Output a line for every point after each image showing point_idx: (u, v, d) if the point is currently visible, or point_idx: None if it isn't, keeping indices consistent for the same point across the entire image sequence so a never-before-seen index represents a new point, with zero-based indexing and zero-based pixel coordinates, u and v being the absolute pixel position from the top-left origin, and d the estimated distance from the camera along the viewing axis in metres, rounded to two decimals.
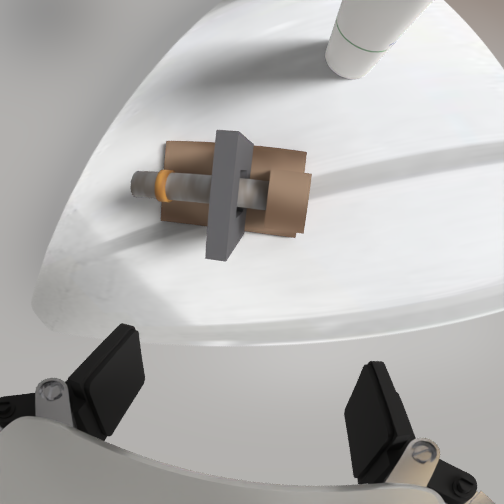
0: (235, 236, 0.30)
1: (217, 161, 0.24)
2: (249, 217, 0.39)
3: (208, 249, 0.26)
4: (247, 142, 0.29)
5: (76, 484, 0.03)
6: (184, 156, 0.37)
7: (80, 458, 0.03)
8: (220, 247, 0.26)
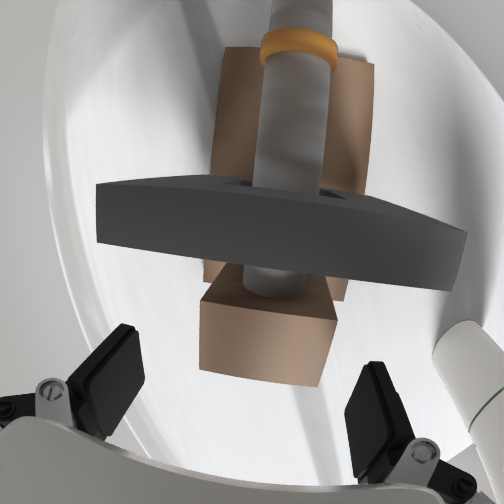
0: None
1: (389, 229, 0.07)
2: None
3: (117, 192, 0.08)
4: None
5: (76, 484, 0.03)
6: (345, 91, 0.18)
7: (80, 458, 0.03)
8: (126, 227, 0.08)
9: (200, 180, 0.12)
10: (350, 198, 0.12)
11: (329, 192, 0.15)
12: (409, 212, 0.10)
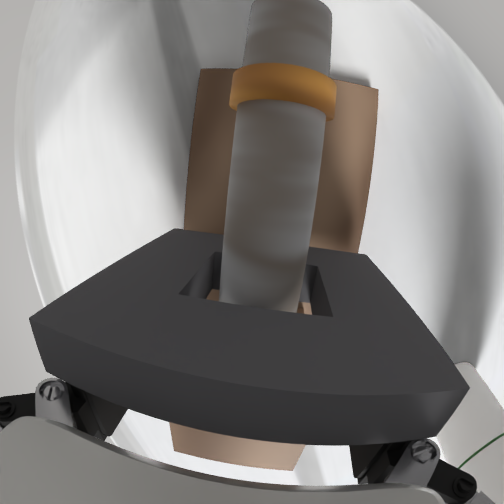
0: None
1: (373, 406, 0.05)
2: None
3: (50, 335, 0.06)
4: None
5: (76, 484, 0.03)
6: (343, 123, 0.16)
7: (80, 458, 0.03)
8: (68, 370, 0.06)
9: (156, 278, 0.10)
10: (338, 301, 0.10)
11: (316, 267, 0.13)
12: (408, 332, 0.08)
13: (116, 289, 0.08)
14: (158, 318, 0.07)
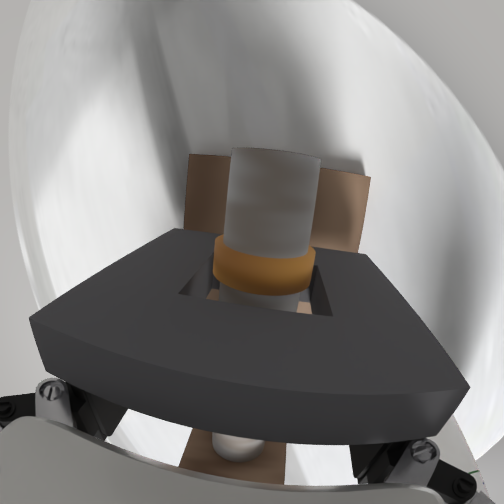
0: None
1: (373, 405, 0.05)
2: None
3: (50, 334, 0.06)
4: None
5: (76, 484, 0.03)
6: (331, 217, 0.18)
7: (80, 458, 0.03)
8: (68, 369, 0.06)
9: (155, 277, 0.10)
10: (338, 300, 0.10)
11: (316, 267, 0.13)
12: (408, 331, 0.08)
13: (116, 289, 0.08)
14: (158, 317, 0.07)
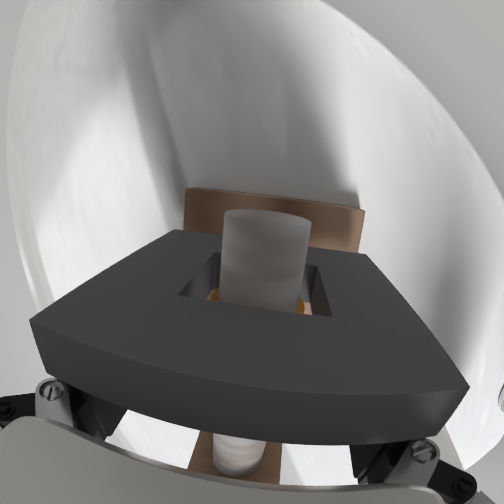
0: None
1: (372, 406, 0.05)
2: None
3: (50, 336, 0.06)
4: None
5: (76, 484, 0.03)
6: None
7: (80, 458, 0.03)
8: (69, 370, 0.06)
9: (155, 279, 0.10)
10: (338, 300, 0.10)
11: (316, 267, 0.13)
12: (408, 331, 0.08)
13: (116, 290, 0.08)
14: (157, 319, 0.07)
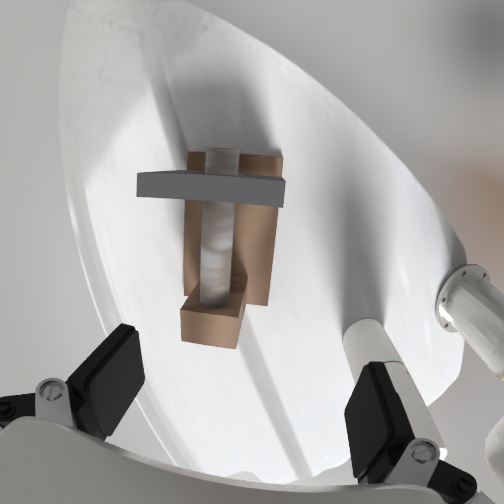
0: None
1: (246, 182, 0.21)
2: (197, 252, 0.37)
3: (146, 176, 0.21)
4: None
5: (76, 484, 0.03)
6: None
7: (80, 458, 0.03)
8: (150, 189, 0.21)
9: None
10: None
11: None
12: None
13: None
14: None
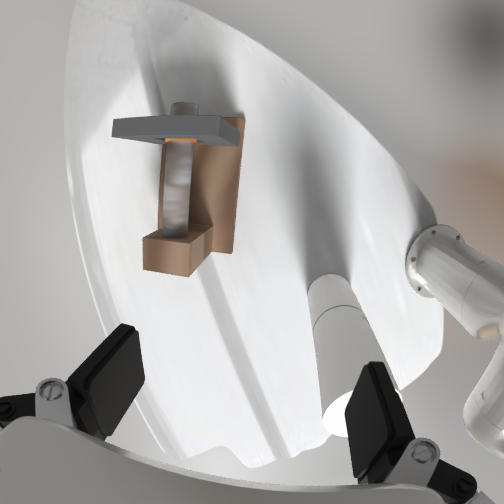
0: (141, 139, 0.29)
1: (190, 119, 0.24)
2: None
3: (120, 120, 0.25)
4: (227, 142, 0.30)
5: (76, 484, 0.03)
6: None
7: (80, 458, 0.03)
8: (121, 130, 0.25)
9: None
10: None
11: None
12: None
13: None
14: None
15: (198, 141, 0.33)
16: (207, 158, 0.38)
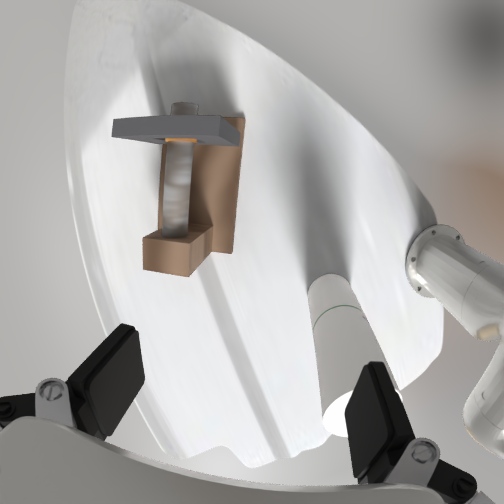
0: (141, 139, 0.29)
1: (190, 119, 0.24)
2: None
3: (120, 120, 0.25)
4: (227, 142, 0.30)
5: (76, 484, 0.03)
6: None
7: (80, 458, 0.03)
8: (121, 130, 0.25)
9: None
10: None
11: None
12: None
13: None
14: None
15: (198, 141, 0.33)
16: (207, 158, 0.38)
